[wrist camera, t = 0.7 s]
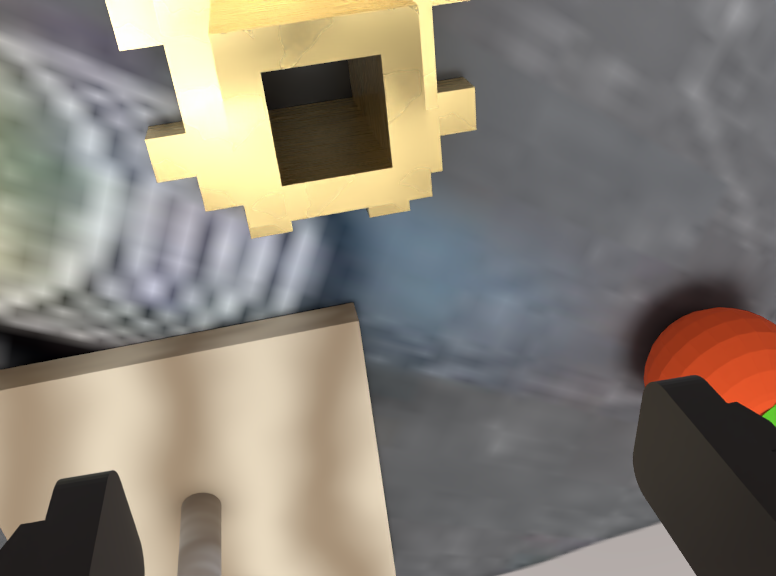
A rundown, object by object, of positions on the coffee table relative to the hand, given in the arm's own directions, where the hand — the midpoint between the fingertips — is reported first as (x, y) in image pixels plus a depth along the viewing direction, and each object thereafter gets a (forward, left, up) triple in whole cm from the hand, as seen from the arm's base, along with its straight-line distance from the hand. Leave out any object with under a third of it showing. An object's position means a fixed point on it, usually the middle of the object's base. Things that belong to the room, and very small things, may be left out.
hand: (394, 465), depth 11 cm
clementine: (-18, +14, -19) cm, 30 cm away
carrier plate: (+7, +17, -19) cm, 27 cm away
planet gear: (-1, -2, -19) cm, 19 cm away
